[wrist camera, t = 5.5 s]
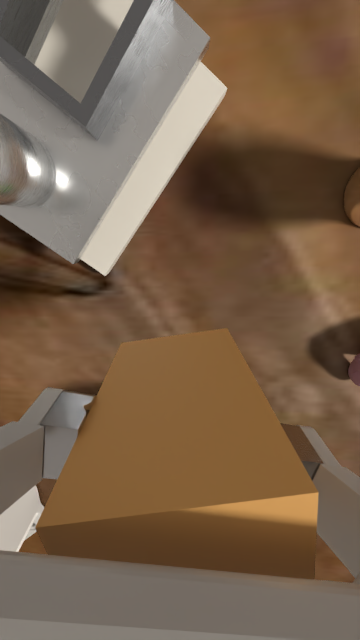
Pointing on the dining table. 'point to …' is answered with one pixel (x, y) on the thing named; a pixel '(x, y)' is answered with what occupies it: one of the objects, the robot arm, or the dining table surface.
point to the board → (169, 142)
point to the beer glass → (353, 198)
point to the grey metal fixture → (84, 117)
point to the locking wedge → (184, 468)
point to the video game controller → (355, 370)
